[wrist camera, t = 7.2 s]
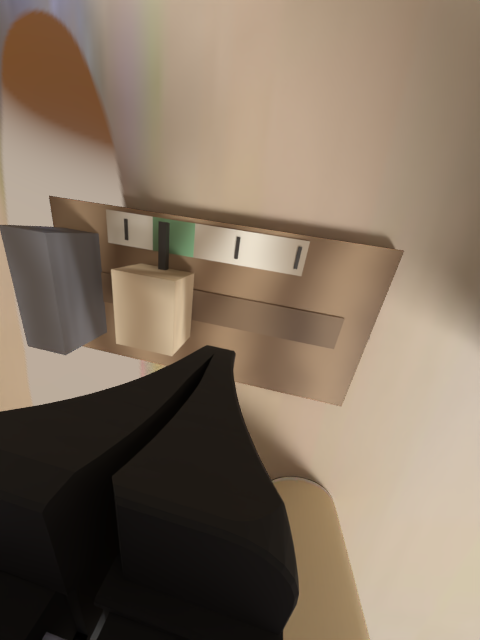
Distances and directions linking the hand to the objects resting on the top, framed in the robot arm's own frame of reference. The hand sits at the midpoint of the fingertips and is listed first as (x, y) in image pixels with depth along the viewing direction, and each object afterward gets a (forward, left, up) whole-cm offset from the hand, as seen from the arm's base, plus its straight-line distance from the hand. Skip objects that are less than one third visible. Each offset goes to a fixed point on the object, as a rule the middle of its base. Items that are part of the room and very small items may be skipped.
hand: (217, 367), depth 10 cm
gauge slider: (+6, +2, -7) cm, 9 cm away
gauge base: (+2, +2, -8) cm, 9 cm away
